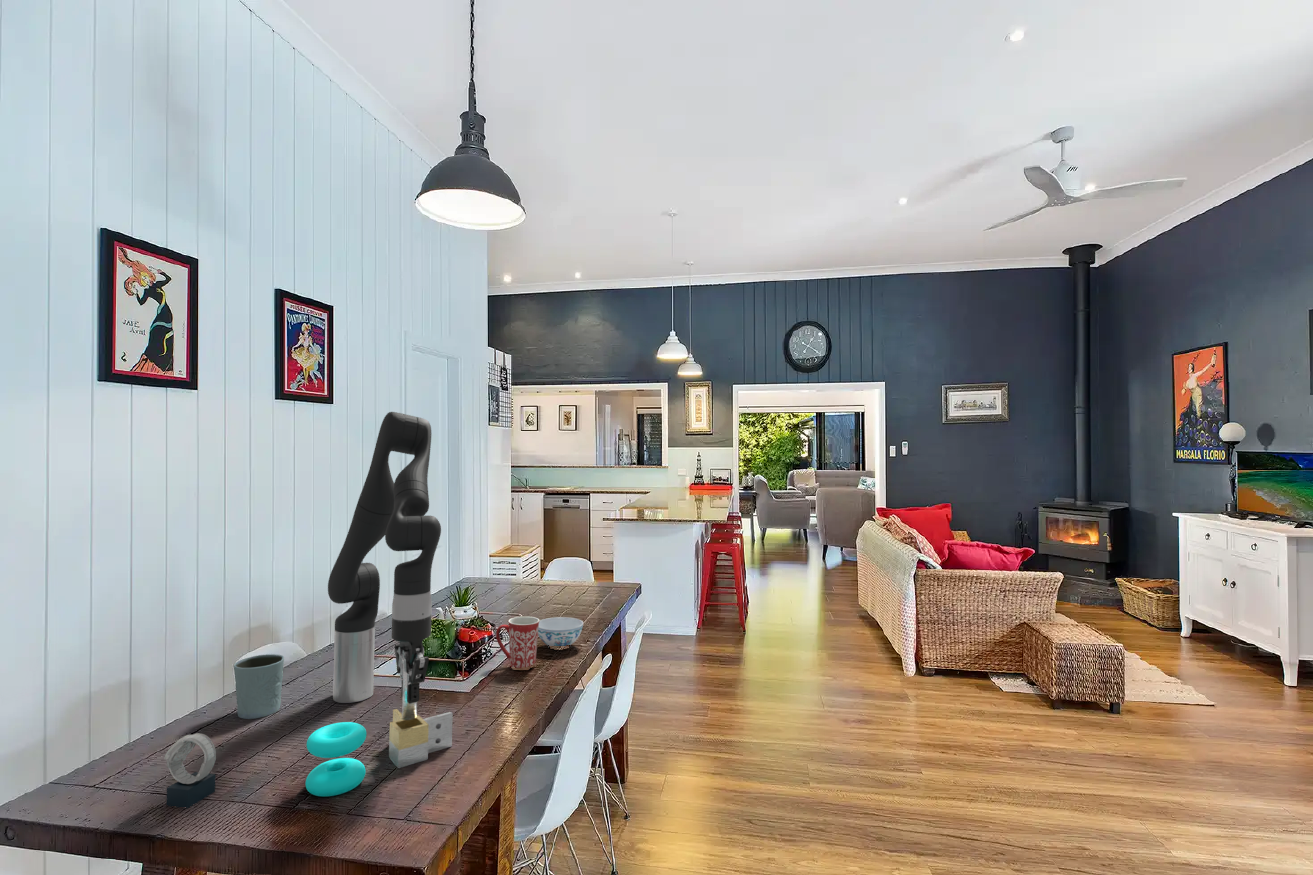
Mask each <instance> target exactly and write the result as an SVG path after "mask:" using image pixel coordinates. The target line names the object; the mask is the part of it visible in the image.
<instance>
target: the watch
mask: <svg viewBox="0 0 1313 875" xmlns="http://www.w3.org/2000/svg"><path fill="white" fill-rule="evenodd" d="M196 745H197V746H198V747H200V749H201V750H202V752H203V755H204V757H203V762H202V763H201V765H200V768H199V771H195V772H192V773H190V772H188V771H187V769H186V768H185V765H184V763H183V762H184V761H185V760H186V758H187V756H188V755H190V753H191V752H192V751H193V750H194V748H195V746H196ZM216 754H217V752H216V747H215V745H214V743H213V740H212V739H211V738H210V737H209V736H208V735H206V734H204V733H199V732H198V733H197V732H196V733H193V734H187V735H185V736H183V737H181V738H180V739H178V740H177V741H175V743H174V744H173V745H171V747H170V748H169V749H168V750H167V751H166V753H165V755H164V760H165V761H166V768H167V769H168V771H169V772H170V775H171V776H172V777H173V779H174V780H175V781H176V782H175V783H173V784H171V785H169V786H167V787H166V800H165V801H166V803H165V804H166V805H168V806H167V807H172V806H176V807H175V808H180V807H186V808H185V809H190V808H191V807H193V806H194V805H195V803H196V804H197V803H199V802H200V801H202V800H204V799H205V798H207V797H209V796H210V795H212V794H214V793H215V792H216V775H217V774H215V773H210V772H212V770H213V768H214V766H215V763H216V759H217V757H216V756H217V755H216ZM193 804H194V805H193ZM166 805H165V806H166ZM190 806H191V807H190Z"/></svg>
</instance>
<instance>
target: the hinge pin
mask: <svg viewBox="0 0 1313 875" xmlns="http://www.w3.org/2000/svg"><path fill="white" fill-rule="evenodd" d="M402 664H403V679H402V680H403V698H402V702H401V703H402V705H401V706H402V712H401V713H402V719H403V720H412V719H415V718H416V717H417V715H418V702H415V703H411V704H409V703H408V702H407V673H405V672H404V659H403V658H402ZM409 668H413V666H411V667H409ZM411 674H412V673H411ZM416 677H417V676H416Z"/></svg>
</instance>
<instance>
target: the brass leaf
mask: <svg viewBox="0 0 1313 875" xmlns="http://www.w3.org/2000/svg"><path fill="white" fill-rule="evenodd" d="M423 719H424V718H422V716H420V715H419V714H417V717H416V718H415V719H412V720H403V719H402V712H401V711H399V709H397V708H395V709H392V721H390V722H389V735H388V736H389V737H388V741H389V740H390V741H391V742H392V743H393V745H394V746H395V747H396V748H397V749H398V750H402V749H405V748H409V747H412V746H416V745H419V744H423V743H426V742H428V727H429V724H428V723H426V722H425V721H424V720H423Z"/></svg>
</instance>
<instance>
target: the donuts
mask: <svg viewBox="0 0 1313 875" xmlns="http://www.w3.org/2000/svg"><path fill="white" fill-rule="evenodd" d="M367 736H368V735H367V730H366V728H365V727H364V726H363V725H362V724H360V723H357V722H352V721H351V722H350V721H342V722H340V721H339V722H336V723H331V724H327V725H325V726H322V727H320V728H317V729H316V730H314V731H313V732H312V733H311V734H310V735H309V737H308V738H307V740H306V744H305V745H306V749H307V752H309V753H310V754H311V755H312V756H314V757H318V758H323V759H329V760H327V761H324V762H322V763H320V764H318V765H317V766H316V767H314V768H313V769H312V770H311V771H310V772H309V773H308V774H307V777H306V779H305V783H304V784H305V788H306V790H307V792H309V794H311V795H313V796H316V797H334V796H339V795H342V794H345V793H348V792H350V791H352V790H353V789H355V788H357V787H358V786H359V785H360V784H361V783H362V782H363V780H364V779H365V777H366V773H367V772H366V767H365V765H364V763H362V762H361V761H360V760H359V759H356V758H352V757H342V756H346V755H349V754H351V753H354V752H355V751H356V750H358V749H359V748H360V747H361V746H362V745H363V744H364V743H365V741H366V739H367ZM339 757H340V758H339ZM332 758H333V759H332Z"/></svg>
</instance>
